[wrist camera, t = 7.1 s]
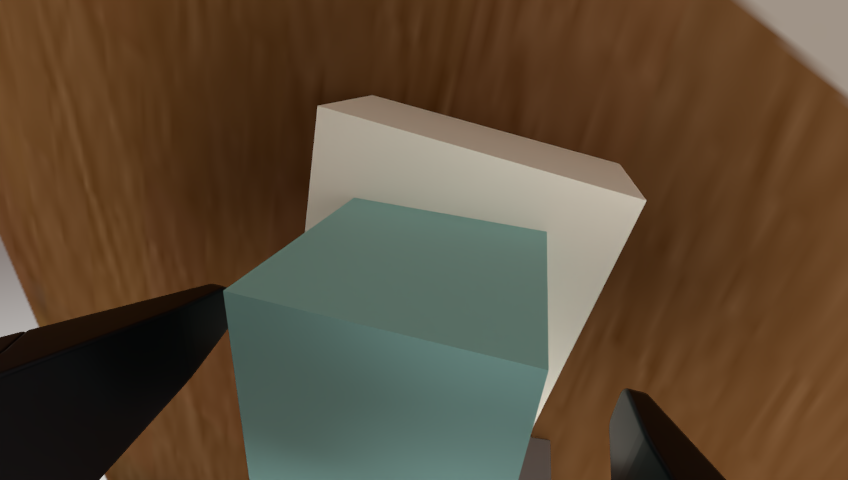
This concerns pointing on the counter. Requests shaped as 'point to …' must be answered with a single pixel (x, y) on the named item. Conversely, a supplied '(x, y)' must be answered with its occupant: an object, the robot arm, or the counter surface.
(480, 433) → the teal block
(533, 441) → the light gray block
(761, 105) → the counter surface
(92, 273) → the counter surface
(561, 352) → the cream base block
